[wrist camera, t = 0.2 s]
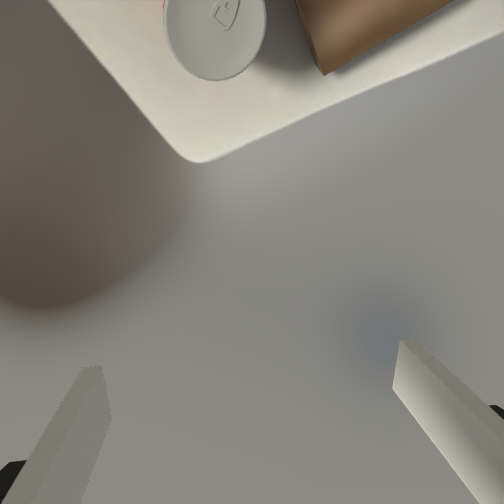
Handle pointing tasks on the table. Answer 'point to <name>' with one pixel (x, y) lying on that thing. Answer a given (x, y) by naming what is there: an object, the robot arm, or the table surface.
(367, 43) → the walnut stand
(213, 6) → the canned food
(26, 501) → the robot arm
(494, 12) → the table surface
